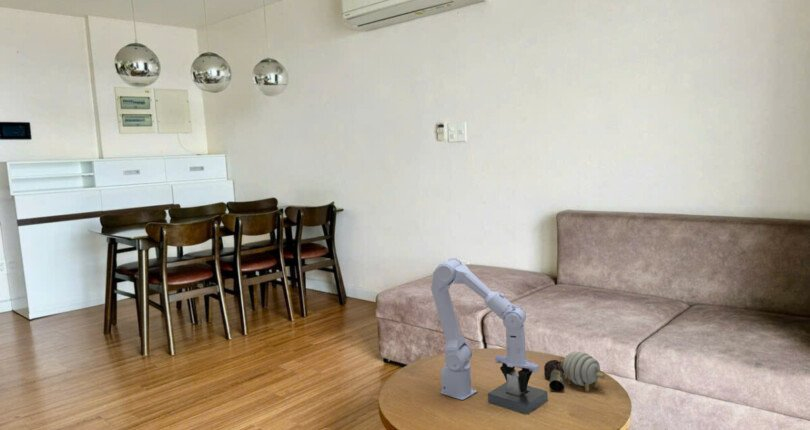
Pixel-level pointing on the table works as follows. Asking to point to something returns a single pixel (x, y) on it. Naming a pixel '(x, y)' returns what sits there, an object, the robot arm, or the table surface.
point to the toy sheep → (581, 369)
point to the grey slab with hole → (518, 399)
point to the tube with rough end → (554, 375)
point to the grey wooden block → (514, 384)
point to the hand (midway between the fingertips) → (517, 389)
